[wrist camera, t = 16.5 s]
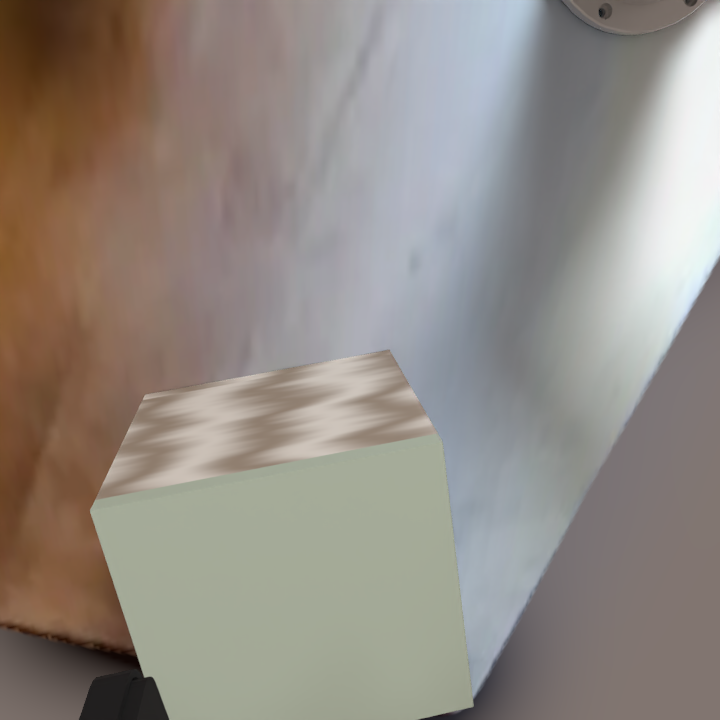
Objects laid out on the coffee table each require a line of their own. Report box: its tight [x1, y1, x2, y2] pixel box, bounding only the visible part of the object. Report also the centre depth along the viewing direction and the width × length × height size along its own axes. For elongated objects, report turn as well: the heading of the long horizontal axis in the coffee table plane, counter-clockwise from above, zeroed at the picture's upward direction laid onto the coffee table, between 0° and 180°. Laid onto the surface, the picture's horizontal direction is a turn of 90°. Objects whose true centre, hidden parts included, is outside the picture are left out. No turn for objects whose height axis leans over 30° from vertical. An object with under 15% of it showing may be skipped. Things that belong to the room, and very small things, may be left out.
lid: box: [90, 433, 474, 720], centre depth 35 cm, size 17×17×1 cm
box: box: [95, 350, 437, 500], centre depth 42 cm, size 17×17×14 cm
